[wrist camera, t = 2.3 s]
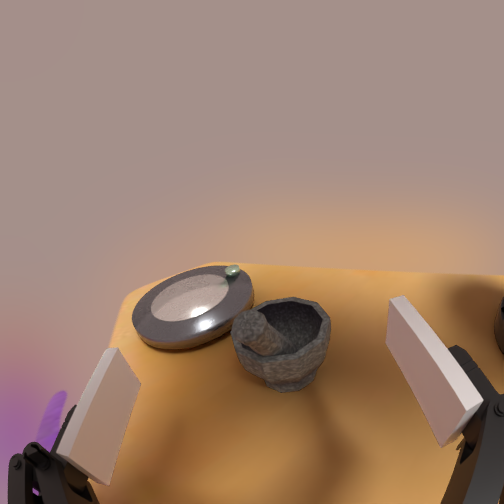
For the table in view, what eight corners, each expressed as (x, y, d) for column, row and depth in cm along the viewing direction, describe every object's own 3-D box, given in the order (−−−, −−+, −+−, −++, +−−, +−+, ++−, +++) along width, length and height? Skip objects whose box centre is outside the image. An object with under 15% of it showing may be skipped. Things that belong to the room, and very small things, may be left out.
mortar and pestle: (266, 338, 35) (243, 256, 30) (338, 343, 30) (330, 253, 26) (229, 407, 25) (186, 322, 21) (317, 423, 21) (304, 333, 17)
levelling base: (254, 273, 52) (249, 251, 50) (259, 345, 34) (250, 318, 32) (158, 293, 54) (150, 273, 52) (125, 361, 35) (111, 339, 33)
